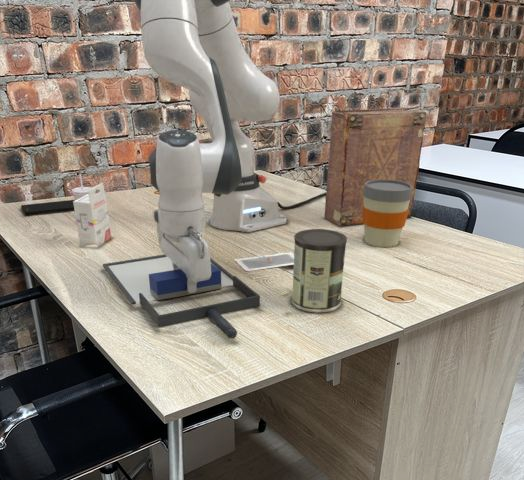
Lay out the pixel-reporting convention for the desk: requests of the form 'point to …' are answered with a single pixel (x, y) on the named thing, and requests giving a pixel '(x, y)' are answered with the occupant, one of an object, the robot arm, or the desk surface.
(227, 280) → the whiteboard
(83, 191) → the smoothie
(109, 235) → the ink cartridge box
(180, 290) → the eraser
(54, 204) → the cell phone
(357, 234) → the desk surface
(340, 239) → the coffee can
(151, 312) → the dustpan
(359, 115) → the book
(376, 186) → the reusable coffee cup
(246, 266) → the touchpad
